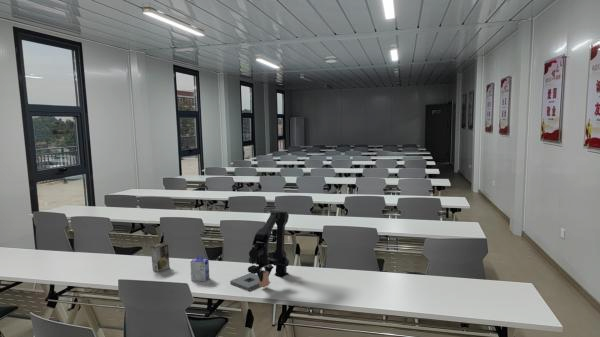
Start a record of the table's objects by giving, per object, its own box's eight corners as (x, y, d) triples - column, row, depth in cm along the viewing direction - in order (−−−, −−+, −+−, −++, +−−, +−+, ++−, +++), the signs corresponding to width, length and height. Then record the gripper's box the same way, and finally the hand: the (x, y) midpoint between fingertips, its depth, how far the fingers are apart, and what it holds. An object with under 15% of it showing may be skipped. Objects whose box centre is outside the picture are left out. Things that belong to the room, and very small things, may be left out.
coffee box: (164, 265, 264) (162, 242, 262) (169, 267, 260) (168, 244, 258) (152, 270, 256) (150, 246, 254) (157, 272, 253) (156, 247, 251)
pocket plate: (250, 275, 243) (250, 272, 243) (268, 281, 232) (268, 278, 232) (230, 283, 231) (230, 280, 231) (248, 290, 220) (248, 287, 220)
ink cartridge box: (210, 278, 241) (208, 255, 239) (206, 281, 235) (204, 258, 234) (195, 277, 243) (193, 254, 241) (190, 280, 237) (189, 257, 236)
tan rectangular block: (264, 283, 226) (263, 269, 225) (269, 285, 223) (268, 271, 223) (259, 285, 223) (258, 272, 222) (263, 287, 220) (263, 273, 220)
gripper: (265, 246, 233) (265, 272, 235) (240, 255, 219) (242, 281, 221) (278, 250, 226) (279, 276, 228) (254, 259, 212) (255, 287, 214)
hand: (263, 280), depth 223 cm, fingers closed on tan rectangular block, 4 cm apart
